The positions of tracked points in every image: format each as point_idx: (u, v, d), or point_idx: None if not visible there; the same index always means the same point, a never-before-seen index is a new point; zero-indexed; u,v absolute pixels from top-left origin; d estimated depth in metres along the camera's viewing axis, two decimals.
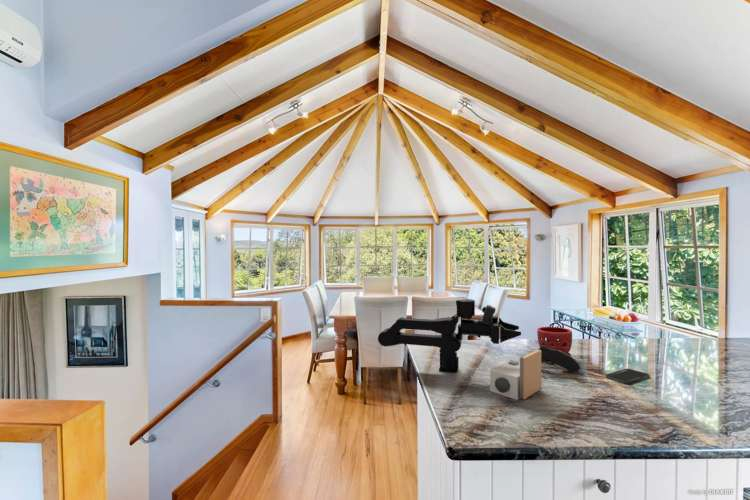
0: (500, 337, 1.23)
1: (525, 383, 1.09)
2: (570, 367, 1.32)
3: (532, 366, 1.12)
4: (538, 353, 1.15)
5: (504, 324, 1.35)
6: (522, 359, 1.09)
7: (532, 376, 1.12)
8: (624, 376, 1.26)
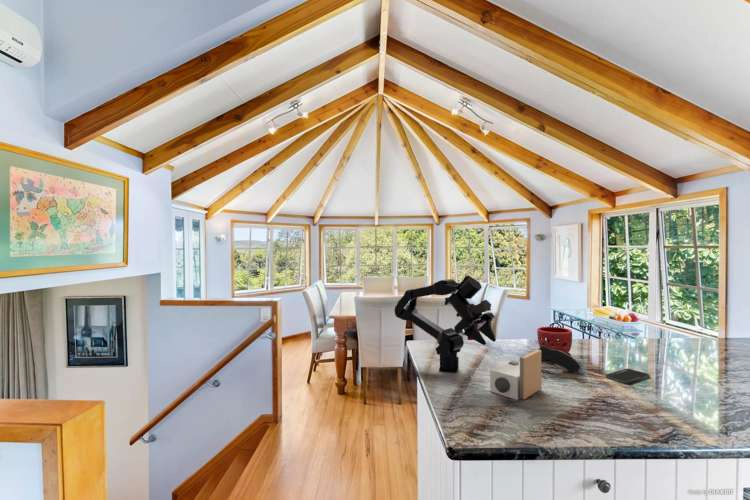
0: (465, 331, 1.23)
1: (525, 383, 1.09)
2: (570, 367, 1.32)
3: (532, 366, 1.12)
4: (538, 353, 1.15)
5: (488, 327, 1.28)
6: (522, 359, 1.09)
7: (532, 376, 1.12)
8: (624, 376, 1.26)
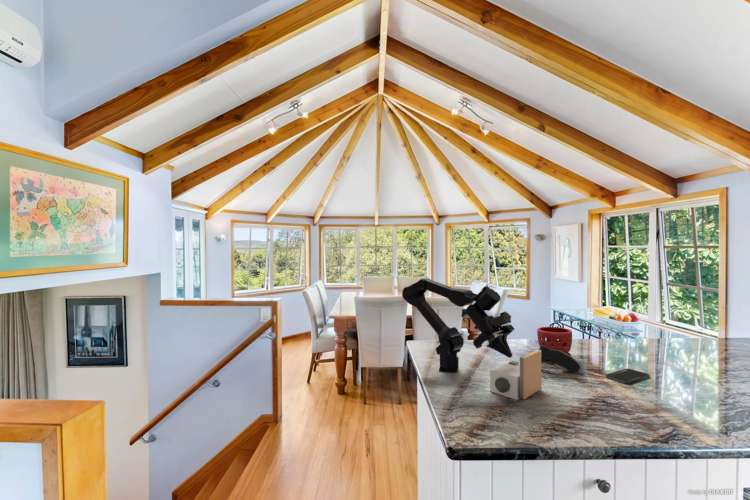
0: (490, 343, 1.20)
1: (525, 383, 1.09)
2: (570, 367, 1.32)
3: (532, 366, 1.12)
4: (538, 353, 1.15)
5: (503, 342, 1.20)
6: (522, 359, 1.09)
7: (532, 376, 1.12)
8: (624, 376, 1.26)
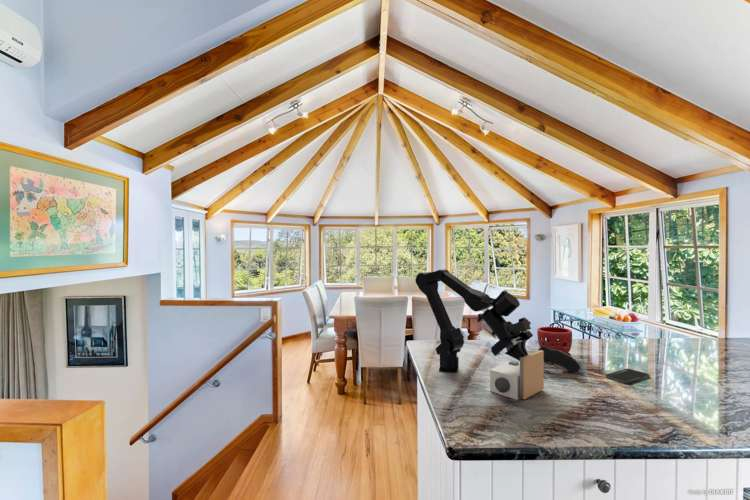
0: (508, 350, 1.15)
1: (526, 383, 1.09)
2: (570, 367, 1.32)
3: (533, 366, 1.12)
4: (540, 353, 1.15)
5: (522, 349, 1.16)
6: (522, 359, 1.09)
7: (533, 376, 1.12)
8: (624, 376, 1.26)
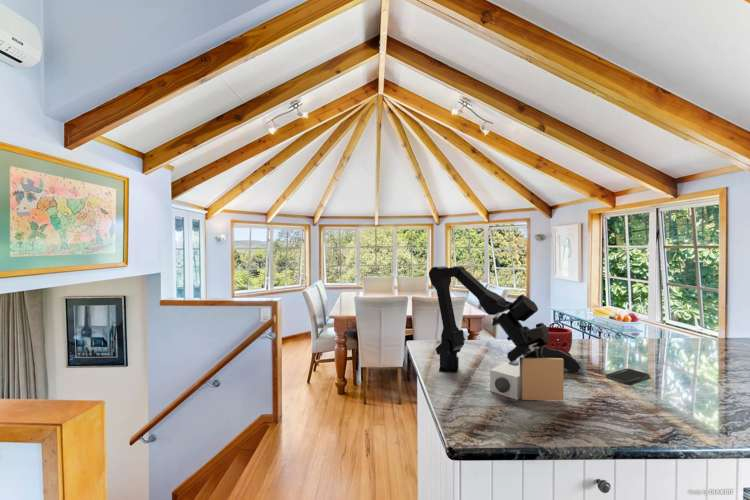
0: (524, 357, 1.11)
1: (525, 384, 1.08)
2: (570, 367, 1.32)
3: (541, 371, 1.08)
4: (556, 361, 1.07)
5: (539, 356, 1.12)
6: (520, 359, 1.09)
7: (540, 381, 1.08)
8: (624, 376, 1.26)
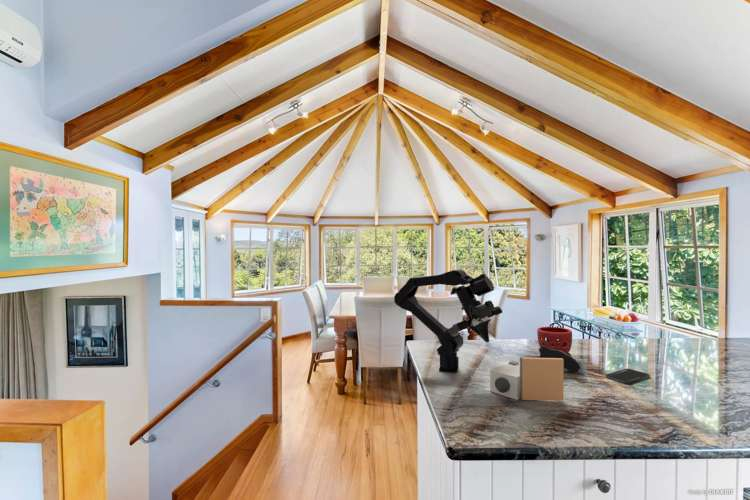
0: (469, 327, 1.29)
1: (525, 384, 1.08)
2: (570, 367, 1.32)
3: (541, 371, 1.08)
4: (556, 361, 1.07)
5: (484, 328, 1.28)
6: (520, 359, 1.09)
7: (540, 381, 1.08)
8: (624, 376, 1.26)
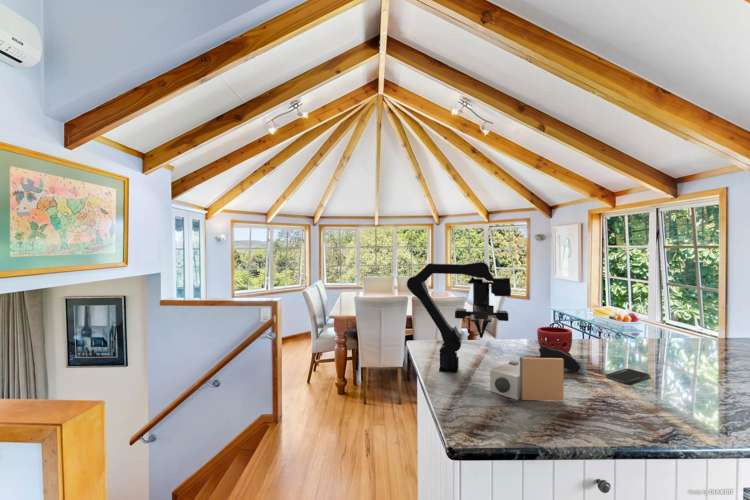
0: None
1: (525, 384, 1.08)
2: (570, 367, 1.32)
3: (541, 371, 1.08)
4: (556, 361, 1.07)
5: (482, 325, 1.31)
6: (520, 359, 1.09)
7: (540, 381, 1.08)
8: (624, 376, 1.26)
